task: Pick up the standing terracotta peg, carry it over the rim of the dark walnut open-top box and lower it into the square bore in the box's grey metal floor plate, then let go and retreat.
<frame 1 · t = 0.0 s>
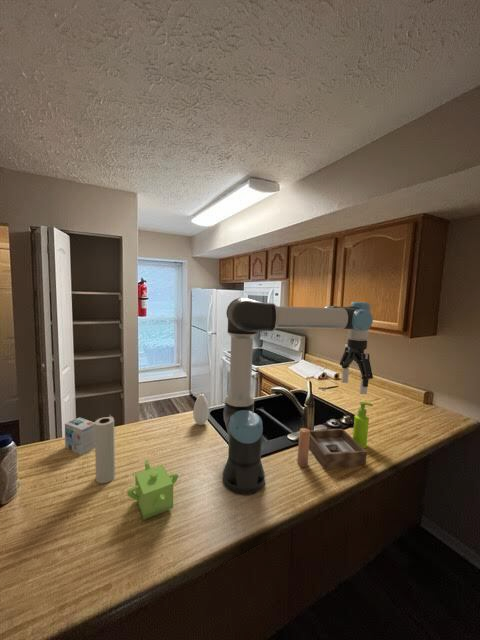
hand: (353, 387, 116), 28 cm above the worktop, fingers open, 13 cm apart
sauce bottle: (200, 424, 137), on the worktop
light bulb box: (80, 448, 113), on the worktop
box: (333, 453, 116), on the worktop
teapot: (153, 506, 85), on the worktop
paper towel roll: (107, 477, 96), on the worktop
soap dispenser: (360, 445, 123), on the worktop
peg: (302, 463, 108), on the worktop
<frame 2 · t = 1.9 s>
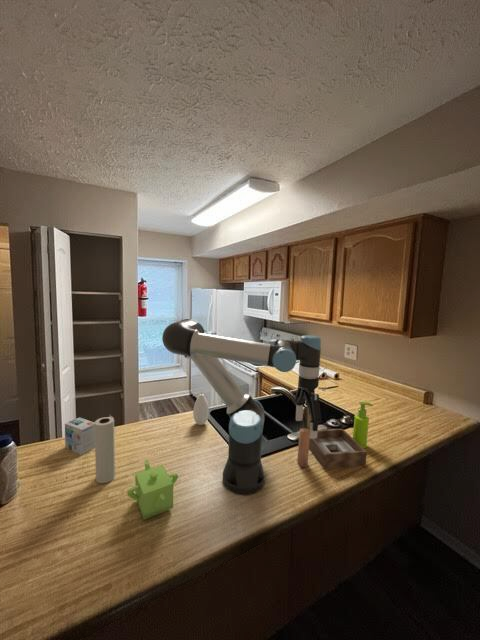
hand: (305, 428, 106), 15 cm above the worktop, fingers open, 13 cm apart
nothing on the worktop moved.
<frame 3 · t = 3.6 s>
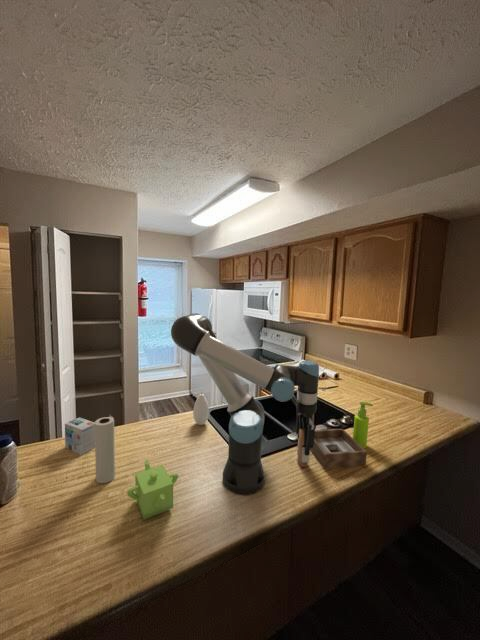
hand: (302, 457, 108), 3 cm above the worktop, fingers closed on peg, 4 cm apart
peg: (302, 463, 108), on the worktop, touching gripper
everything else where it was.
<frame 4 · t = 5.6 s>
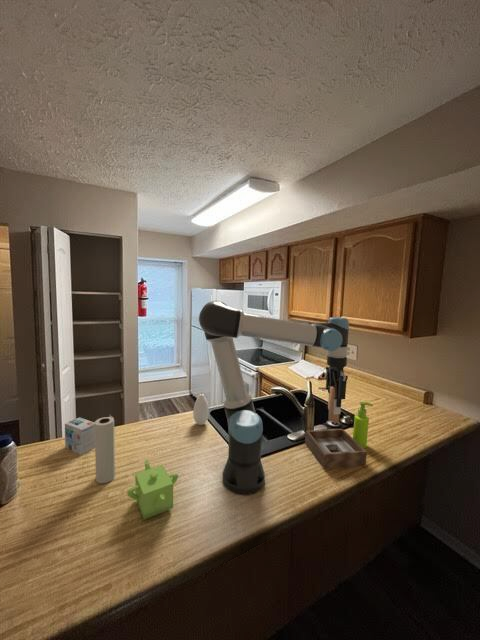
hand: (334, 411, 112), 20 cm above the worktop, fingers closed on peg, 4 cm apart
peg: (333, 420, 113), point 16 cm above the worktop, touching gripper
everything else where it was.
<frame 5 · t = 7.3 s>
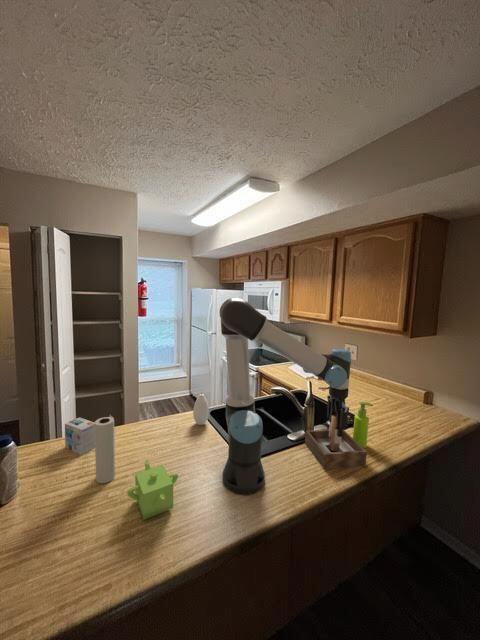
hand: (334, 439, 115), 6 cm above the worktop, fingers closed on peg, 4 cm apart
peg: (334, 448, 115), point 3 cm above the worktop, touching gripper
everything else where it was.
when the fingers open (4 cm above the worktop, at t = 8.0 s): peg stays where it is, resting in box.
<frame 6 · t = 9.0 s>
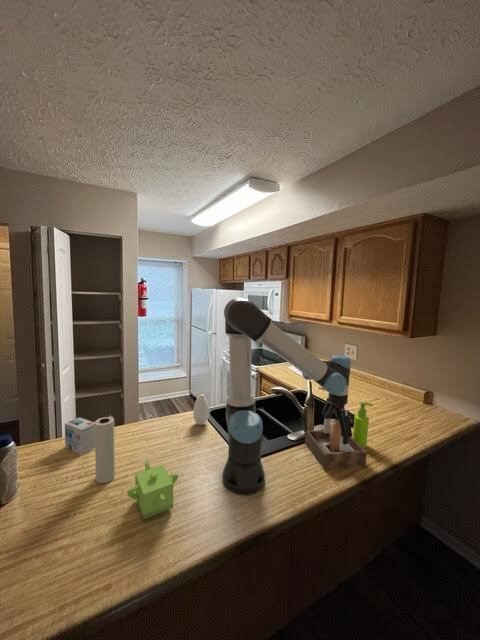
hand: (334, 441, 115), 6 cm above the worktop, fingers open, 13 cm apart
peg: (333, 453, 116), resting in box
everything else where it was.
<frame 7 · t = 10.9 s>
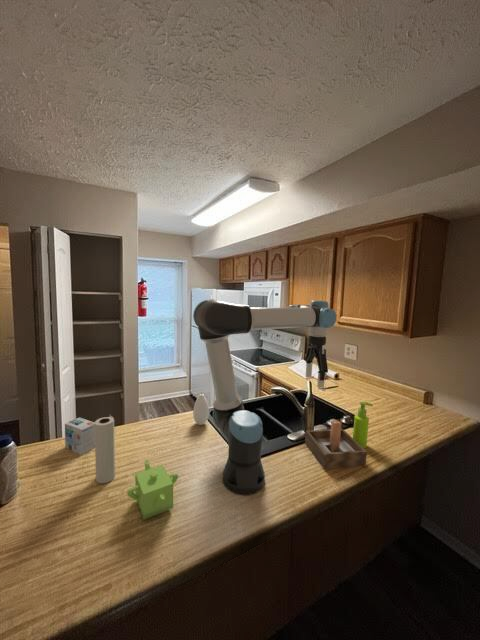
hand: (314, 381, 123), 28 cm above the worktop, fingers open, 13 cm apart
nothing on the worktop moved.
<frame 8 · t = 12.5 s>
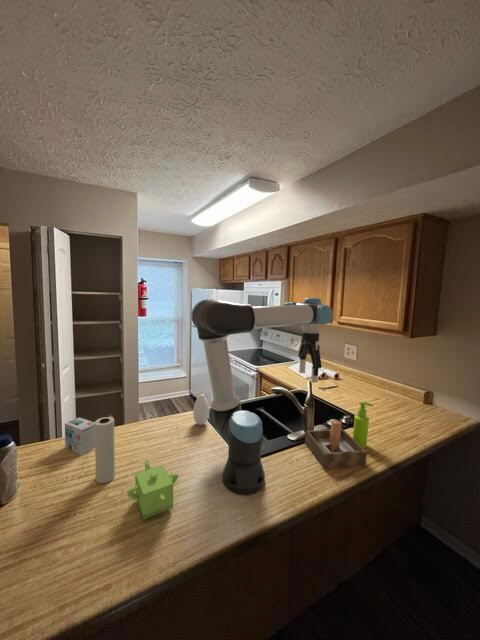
hand: (307, 377, 126), 29 cm above the worktop, fingers open, 13 cm apart
nothing on the worktop moved.
at the end: peg 0.2 cm off-centre on the box, point 0.0 cm above the box's base; peg tilted 0°; the gripper is holding nothing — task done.
